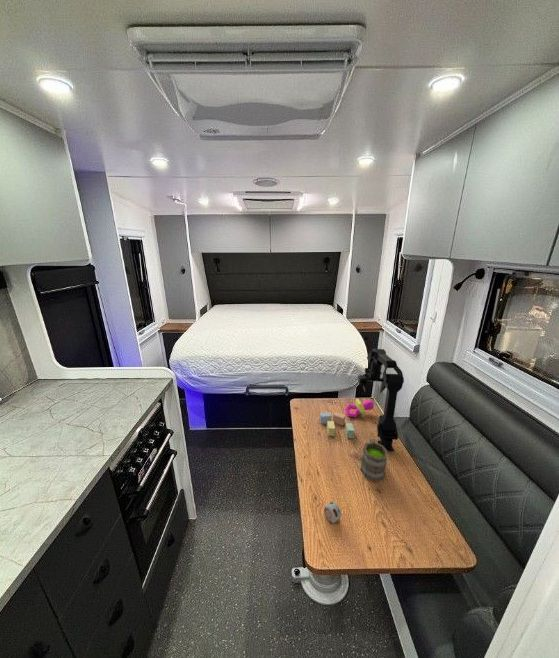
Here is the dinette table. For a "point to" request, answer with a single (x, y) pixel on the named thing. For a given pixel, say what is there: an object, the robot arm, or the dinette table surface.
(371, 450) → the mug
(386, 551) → the dinette table surface
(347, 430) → the green brick
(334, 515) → the roller toy
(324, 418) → the slate brick
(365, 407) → the toy
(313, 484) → the dinette table surface
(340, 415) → the terracotta brick
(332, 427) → the mustard brick
